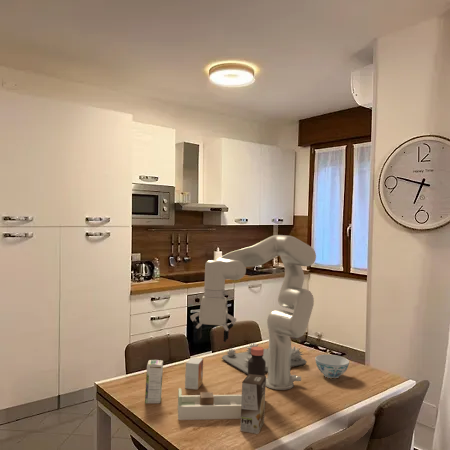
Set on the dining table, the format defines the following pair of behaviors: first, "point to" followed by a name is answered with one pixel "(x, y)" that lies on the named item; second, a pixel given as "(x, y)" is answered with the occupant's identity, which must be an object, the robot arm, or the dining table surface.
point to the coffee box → (253, 403)
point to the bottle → (256, 362)
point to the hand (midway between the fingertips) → (212, 339)
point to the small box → (194, 373)
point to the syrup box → (154, 381)
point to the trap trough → (209, 407)
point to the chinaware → (331, 365)
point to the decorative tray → (242, 358)
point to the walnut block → (206, 398)
